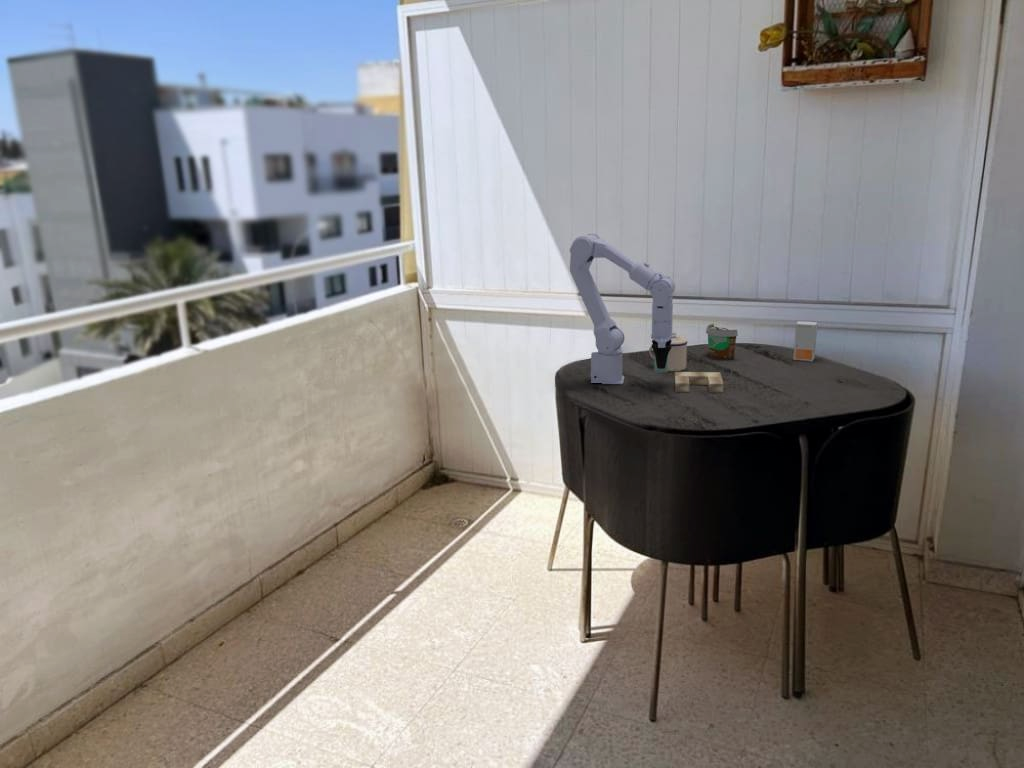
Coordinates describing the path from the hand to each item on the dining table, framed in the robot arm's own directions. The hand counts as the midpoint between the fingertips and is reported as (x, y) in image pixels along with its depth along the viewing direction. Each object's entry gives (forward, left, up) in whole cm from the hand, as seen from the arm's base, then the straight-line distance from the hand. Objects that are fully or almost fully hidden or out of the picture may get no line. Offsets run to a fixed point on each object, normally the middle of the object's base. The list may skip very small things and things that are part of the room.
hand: (661, 366), depth 210 cm
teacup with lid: (+2, +19, -6) cm, 20 cm away
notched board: (+11, -1, -6) cm, 12 cm away
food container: (+18, +33, -6) cm, 39 cm away
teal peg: (0, 0, -2) cm, 2 cm away
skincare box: (+45, +31, -6) cm, 55 cm away
